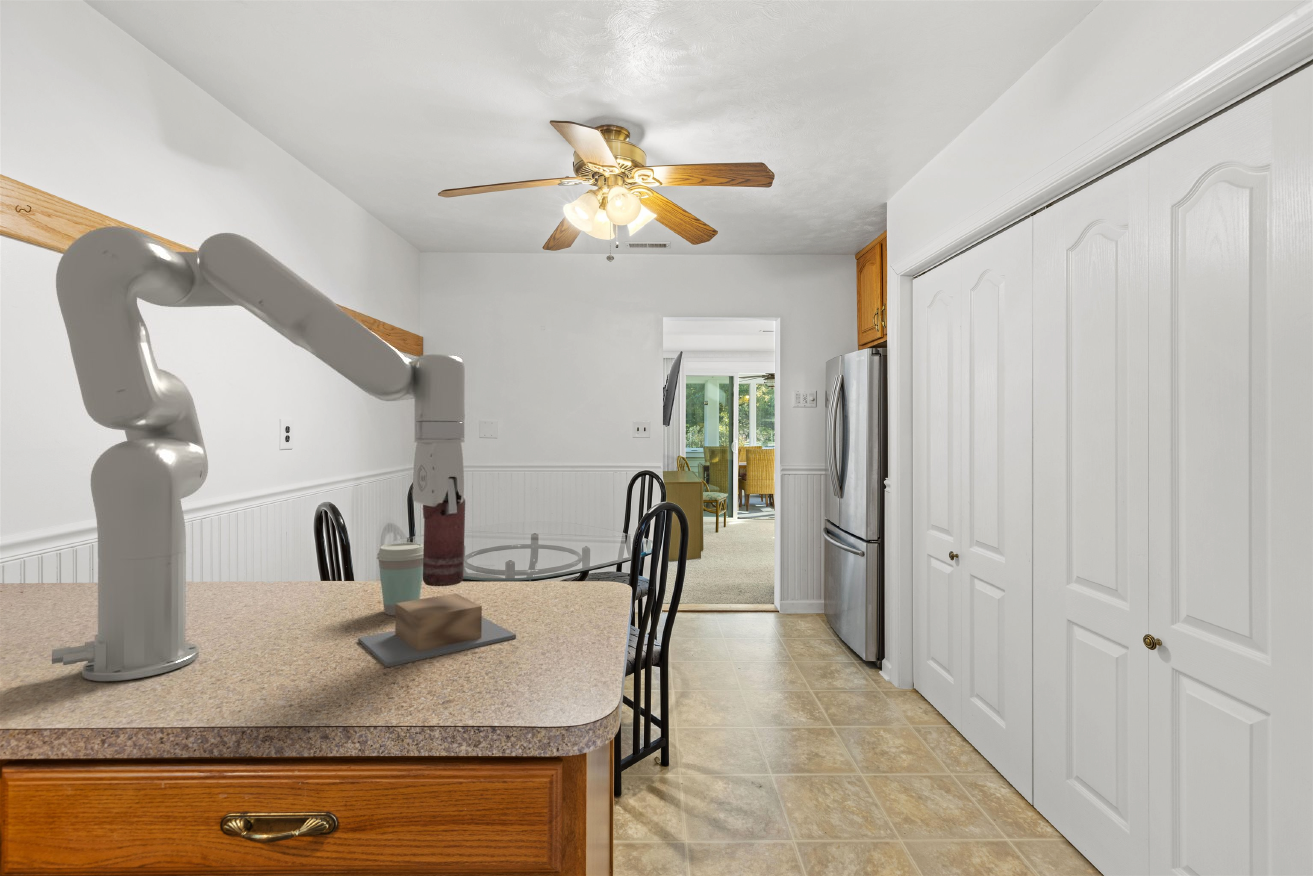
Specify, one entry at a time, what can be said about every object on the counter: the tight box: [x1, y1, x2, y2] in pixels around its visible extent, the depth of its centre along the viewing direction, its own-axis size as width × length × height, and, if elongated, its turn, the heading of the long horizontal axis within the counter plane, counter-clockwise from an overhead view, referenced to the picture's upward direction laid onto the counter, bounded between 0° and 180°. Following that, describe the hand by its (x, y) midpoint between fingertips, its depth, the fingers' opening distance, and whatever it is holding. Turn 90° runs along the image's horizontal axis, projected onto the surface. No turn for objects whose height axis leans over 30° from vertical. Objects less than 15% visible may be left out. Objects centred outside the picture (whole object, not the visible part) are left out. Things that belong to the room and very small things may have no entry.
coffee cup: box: [376, 542, 424, 616], centre depth 115 cm, size 9×9×12 cm
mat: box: [357, 616, 517, 668], centre depth 100 cm, size 20×14×1 cm
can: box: [422, 496, 466, 587], centre depth 100 cm, size 6×6×14 cm
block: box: [394, 593, 483, 651], centre depth 100 cm, size 10×10×5 cm
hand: (439, 548), depth 100 cm, fingers closed
